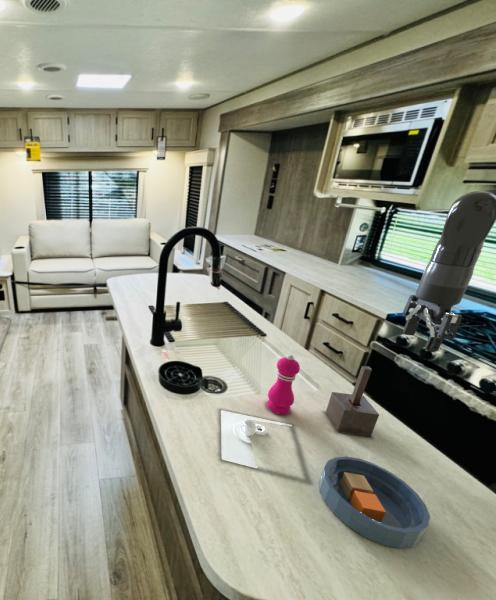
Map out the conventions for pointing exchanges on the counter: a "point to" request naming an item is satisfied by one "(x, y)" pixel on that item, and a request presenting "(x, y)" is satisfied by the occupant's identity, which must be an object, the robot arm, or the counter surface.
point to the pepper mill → (283, 386)
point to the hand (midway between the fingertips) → (418, 342)
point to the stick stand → (351, 415)
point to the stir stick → (360, 385)
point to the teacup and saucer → (240, 437)
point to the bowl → (392, 495)
